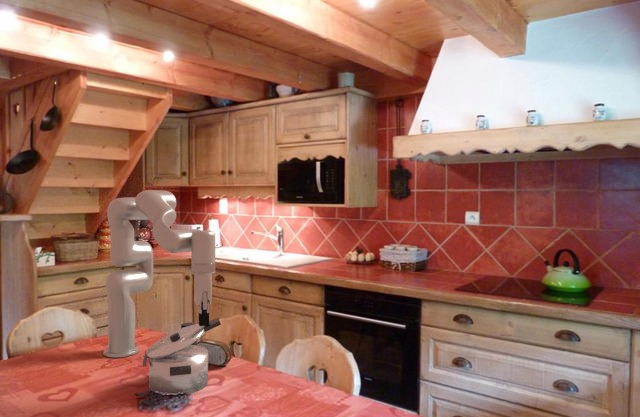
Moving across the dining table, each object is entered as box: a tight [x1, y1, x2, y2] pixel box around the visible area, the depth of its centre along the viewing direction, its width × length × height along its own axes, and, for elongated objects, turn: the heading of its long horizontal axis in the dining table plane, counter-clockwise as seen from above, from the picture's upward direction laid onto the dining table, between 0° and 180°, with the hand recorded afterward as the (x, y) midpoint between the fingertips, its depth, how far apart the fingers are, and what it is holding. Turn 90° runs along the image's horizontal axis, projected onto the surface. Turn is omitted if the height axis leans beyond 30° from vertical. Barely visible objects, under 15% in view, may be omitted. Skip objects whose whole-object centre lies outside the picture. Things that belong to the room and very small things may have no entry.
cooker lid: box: [144, 317, 222, 360], centre depth 149 cm, size 19×25×3 cm
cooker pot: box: [142, 345, 209, 395], centre depth 148 cm, size 24×20×10 cm
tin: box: [196, 338, 232, 367], centre depth 168 cm, size 15×3×8 cm, turn 64°
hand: (203, 325), depth 150 cm, fingers closed
